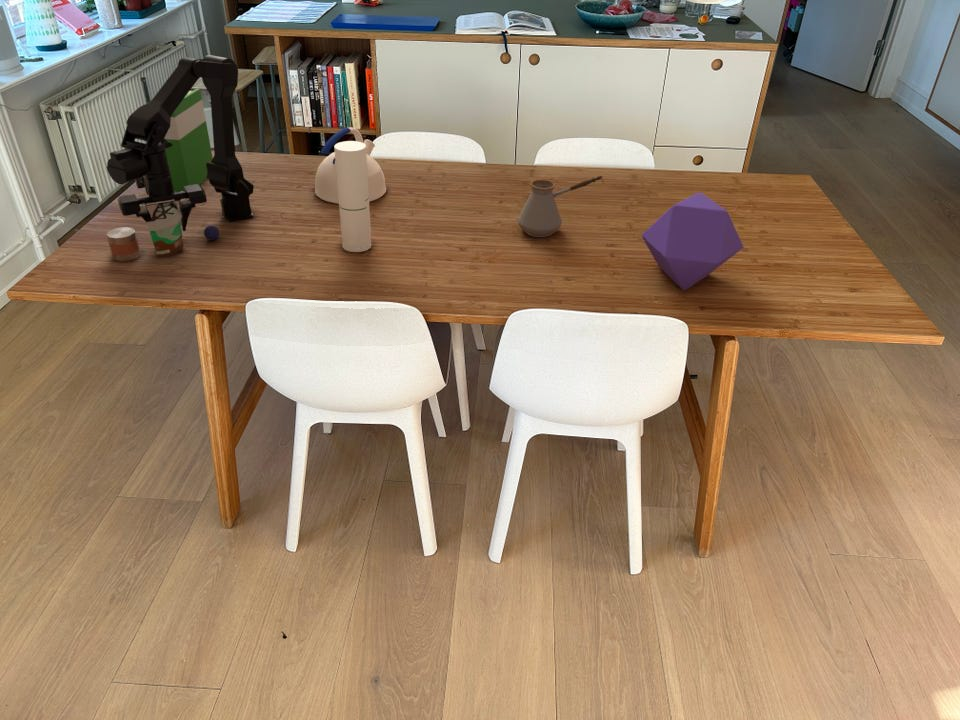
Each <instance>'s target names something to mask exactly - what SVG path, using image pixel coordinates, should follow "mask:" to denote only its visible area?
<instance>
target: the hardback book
mask: <svg viewBox="0 0 960 720" xmlns="http://www.w3.org/2000/svg"><path fill="white" fill-rule="evenodd" d="M201 90H202V89H201V88H195V89H193V90H190V91H189V92H188V94H187V95H186V96H185V98H184V99H183V100H182V102H181V103H180V104H179V106H178V107H177V109H176V110H175V111H174V113H173V114H172V116H171V124H170V128H169V130H168V132H167V134H166V136H165V139H166V140H167V141H169V142H170V143H172V144H173V145H172V146H171V147H169V148H166V149H165V151H166V156H167V161H168V165H169V169H170V174H171V179H172V183H173V188H174V193H176V192H181V191H184V186H188V185H195V184H199V185H201V184H202V183H203V182H204V181H205V180H206V179H208V178H207V167H206V164H207V162H211V161H212V159H213V157H214V156H213V152H212V146H211V142H210V141H211V140H210V136H209V129H208V125H207V118H206V114H205V108H204V103H203V102H204V101H203V96H202V91H201ZM149 102H150V101H148V102H147V103H149Z"/></svg>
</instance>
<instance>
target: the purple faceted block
mask: <svg viewBox="0 0 960 720" xmlns="http://www.w3.org/2000/svg"><path fill="white" fill-rule="evenodd" d="M641 238H642V240H643V241H644V244H645V245H646V246H647V248H648V250H649V252H650V254H651V255H652V257H653V259H654V261H655V262H656V264H657V267H658V268H659V269H660V270H661V271H662V272H663V273H664V274H665V275H666V276H667V277H668V278H669V279H671V280H672V281H673V282H674V283H675V284H676V285H677V286H678V287H680V289H681V290H682V291H686V290H688V289H690V288H691V287H692V286H694V285H696V284H697V283H698V282H700V281H702V280H704V278H706V277H708V276H709V275H710V274H712V273H713V272H715V271H716V270H717V269H718V268H719V267H721V266H722V265H723V264H725V263H726V262H727V261H728V260H730V259H731V258H733V257H734V256H735V255H736V254H738V253H739V252H740V251H742V250H743V249H744V244H743V242H742V240H741V238H740V236H739V234H738V231H737V230H736V227H735V225H734V223H733V220H732V218H731V216H730V214H729V212H728V210H726V209H725V208H723V207H722V206H721V205H719V204H718V203H717V202H715V201H714V200H713V199H710V198H709V197H708V196H707V195H705V194H704V193H702V192H701V191H698V192H696V193H694V194H693V195H690V196H689V197H686V198H684V199H683V200H681V201H678V202H677V203H675V204H673V205H671V207H670V208H668V210H667V211H665V212H664V213H663V214H662V215H661V216H660V217H658V219H657V220H655V222H654V223H653V224H652V225H651V226H649V228H647V229H646V230H645V231H644V232H643V233H642V234H641Z"/></svg>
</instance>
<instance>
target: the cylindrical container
mask: <svg viewBox="0 0 960 720" xmlns="http://www.w3.org/2000/svg"><path fill="white" fill-rule="evenodd" d="M333 146H334V148H333V149H334V152H335V161H336V174H337V186H338V198H339V204H338V209H339V221H340V222H339V223H340V232H341V233H340V234H341V245H342V249H343V250H345V251H347V252H349V253H361V252H366V251H368V250H370V249H371V248H372V230H371V226H372V225H371V213H370V212H371V211H370V209H371V208H370V202H369V192H368V174H367V157H366V145H365V144H364V142H363V143H362V142H357V141H356V140H345V141H344V140H343V141H340V142H336V143H335V144H334V145H333Z"/></svg>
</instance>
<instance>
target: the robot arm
mask: <svg viewBox="0 0 960 720" xmlns="http://www.w3.org/2000/svg"><path fill="white" fill-rule="evenodd" d="M200 78H201V81H202V84H203V85H204V87H205V89H206V91H207V93H208V94H209V97H210V98H209V99H210V109H211V110H210V112H211V125H212V126H211V127H212V137H213V151H214V155H213V156H212V157H213V159H212V161H211V162H207V164H206V167H207V178H206V179H208V183H209V185H211V186H212V188H213V189H214V191H215V193H218V194H221V198H220V199H219V201H220V207H221V212H222V215H223V216H224V217H225V218H226V219H227V221H229V222H233V221H238V220H244V219H249V218H250V219H251V218H253V217H254V213H253V212H252V209H251V208H252V207H251V203H250V197H251V195H252V194H254V189H255V186H254V184H253V183H252V182H250V181H249V180H247V179H246V178H245V176H244V171H243V167H242V165H241V163H240V161H239V159H238V157H237V156H236V145H235V144H236V143H235V129H234V128H235V127H234V112H233V95H234V93H235V92H236V89H237V87H238V85H239V84H238V83H239V67H238V64H237V63H236V62H235V61H234V60H233V59H231V58H229V57H223V56H217V55H212V54H207V55H205V56H204V57H203V58H194V57H192V58H191V57H183V58H180V59H179V60H178V62H177V66H176V67H175V69H174V70H173V72H172V73H171V74H170V75H169V76H168V78H167V80H165V82H164V83H163V85H162V86H161V87H160V89H158V92H156V94H155V95H154V96H153V98H152V99H151V100H150V101H148V102H149V103H148V102H146V103H145V104H142V105H141V106H139V107H138V108H137V109H135V110H134V111H133V112H132V113H131V114H130V115H129V116H128V118H127V119H126V127H125V130H124V134H123V136H122V140H121V143H120V147H121V148H122V149H120V150H114V151H112V152H109V156H110V158H109V159H108V160H107V163H106V171H107V173H108V175H109V177H110V178H111V180H112V181H114V182H115V183H116V184H118V185H124V184H127V183H130V182H132V181H135V184H136V188H137V189H145V193H146V195H147V196H146V197H139V198H138V197H137V195H136V193H132V194H126V195H121V196H118V198H117V203H118V206H119V207H118V208H119V209H120V212H121V214H122V216H124V217H127V216H128V217H129V216H136V218H142V219H143V221H145V223H147V222H150V221H151V219H152V215H151V212H150V210H149V209H148V207H150V206H155V205H156V206H157V205H158V204H162V203H168V202H178V206H179V208H180V210H181V212H182V218H181V220H180V223H181V230H182V231H183V232H186V229H187V226H188V225H187V224H188V220H189V217H190V214H191V211H192V209H194V208H196V205H198V204H204V203H205V204H206V203H207V202H208V198H207V193H206V191H205V190H204V188H203V187H202V185H201V184H195V185H188V186H184V191H181V192H174V188H173V183H172V179H171V174H170V169H169V165H168V161H167V156H166V151H165V149H166V148H169V147H171V146H172V145H173V144H172V143H170V142H169V141H167V140H166V139H165V136H166V134H167V132H168V130H169V128H170V124H171V116H172V114H173V113H174V111H175V110H176V109H177V107H178V106H179V104H180V103H181V102H182V100H183V99H184V98H185V96H186V95H187V94H188V92H189V91H192V88H193V87H194V86H195V84H196V83H197V82H198V80H199V79H200ZM137 140H139V141H137ZM141 141H142V142H141ZM144 142H145V143H144Z"/></svg>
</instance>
